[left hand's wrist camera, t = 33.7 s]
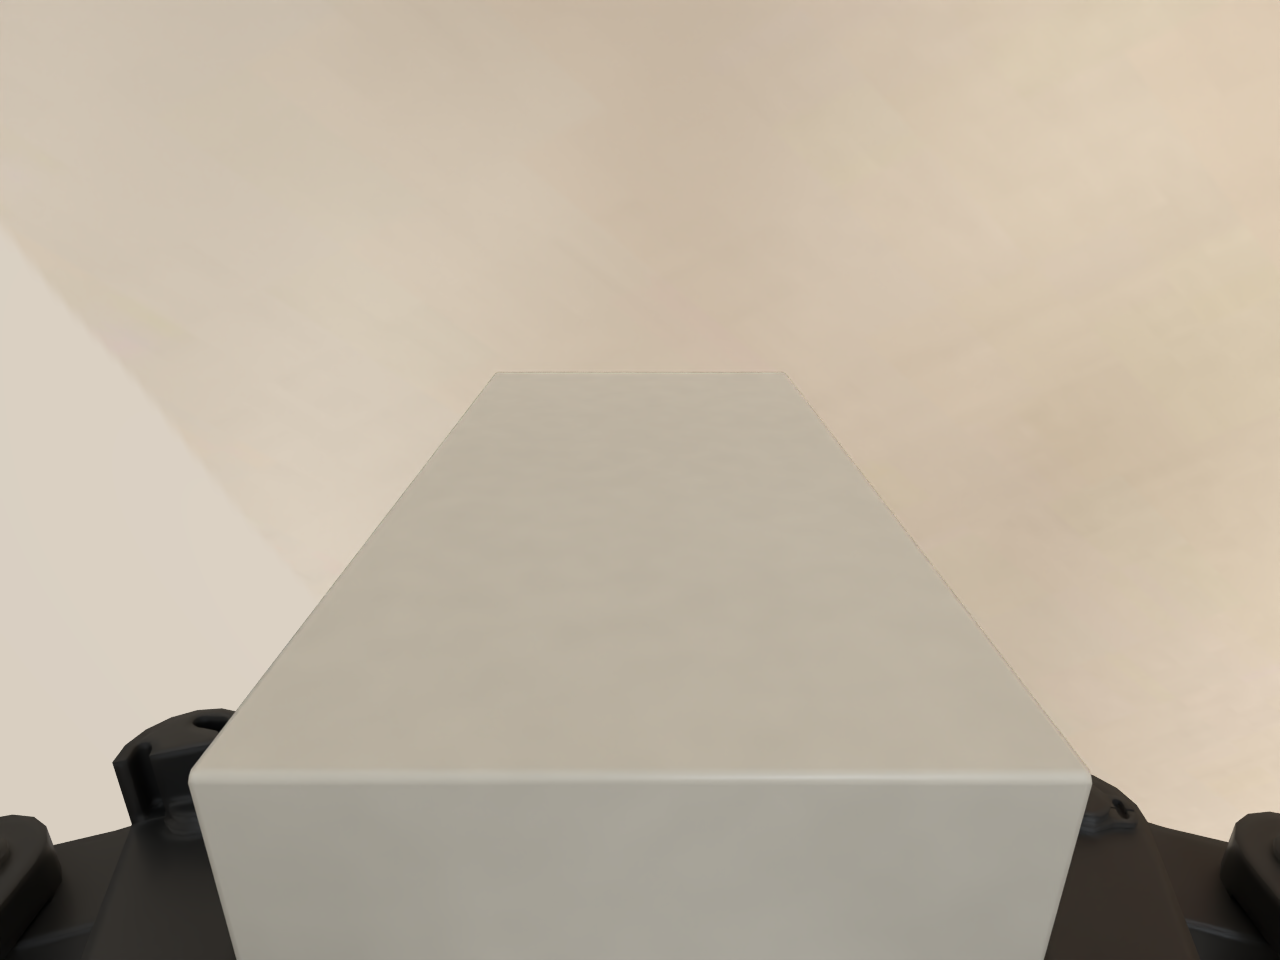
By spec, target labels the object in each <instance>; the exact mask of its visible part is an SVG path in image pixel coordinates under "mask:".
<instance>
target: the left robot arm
mask: <svg viewBox="0 0 1280 960" xmlns="http://www.w3.org/2000/svg"><path fill="white" fill-rule="evenodd" d="M235 712H236V711H231V710H226V709H207V710H197V711H193V712H189V713H186V714H182V715H179V716H175V717H171V718H169V719H167V720H165V721H163V722H161V723H159V724H157V725H155V726H153V727H150V728H148V729H146V730H145V731H144V732H142V733H141V734H140V735H138V736H137V737H136V738H134V739H133V740H132V741H130V742H129V743H128V744H126V745H125V746H124V748H123V749H122V750H121V752H120V753H119V754H118V756H117V757H116V758H115V760H114V761H113V766H114V769H115V772H116V776H117V779H118V782H119V785H120V788H121V791H122V794H123V798H124V801H125V804H126V807H127V810H128V813H129V816H130V820H131V823H132V825H131V826H129V827H126V828H123V829H120V830H116V831H112V832H108V833H104V834H99V835H95V836H91V837H86V838H82V839H78V840H74V841H70V842H65V843H61V844H57V845H53V843H52V841H51V838H50V835H49V833H48V830H47V827H46V826H45V825H44V824H43V823H41V822H40V821H39V820H37V819H36V818H35V817H29V816H20V815H8V816H3V817H0V960H237V959H236V956H235V952H234V948H233V945H232V941H231V938H230V934H229V930H228V927H227V923H226V919H225V916H224V912H223V908H222V905H221V901H220V898H219V894H218V890H217V887H216V883H215V879H214V876H213V872H212V868H211V865H210V861H209V858H208V854H207V850H206V847H205V843H204V839H203V836H202V832H201V828H200V825H199V821H198V817H197V814H196V810H195V807H194V803H193V799H192V796H191V792H190V788H189V785H188V780H189V774H190V771H191V769H192V768H193V766H194V765H195V764H196V762H197V761H198V760H199V758H200V757H201V756H202V755H203V753H204V752H205V751H206V749H207V748H208V747H209V745H210V744H211V743H212V741H213V740H214V739H215V738H216V736H217V735H218V734H219V732H220V731H221V730H222V728H223V727H224V726H225V725H226V723H227V722H228V721H229V719H230V718H231V717H232V715H233V714H234V713H235ZM1091 778H1092V786H1091V790H1090V794H1089V797H1088V801H1087V805H1086V808H1085V812H1084V816H1083V819H1082V823H1081V826H1080V830H1079V834H1078V837H1077V841H1076V845H1075V848H1074V852H1073V856H1072V859H1071V863H1070V866H1069V870H1068V874H1067V877H1066V881H1065V885H1064V888H1063V892H1062V895H1061V899H1060V903H1059V906H1058V910H1057V914H1056V917H1055V921H1054V925H1053V928H1052V932H1051V935H1050V939H1049V943H1048V946H1047V950H1046V954H1045V957H1044V960H1280V814H1279V813H1274V812H1262V813H1252V814H1247V815H1246V816H1245V817H1243V818H1242V819H1241V820H1239V821H1238V822H1237V823H1236V824H1235V826H1234V829H1233V832H1232V835H1231V837H1230V840H1229V842H1224V841H1220V840H1216V839H1212V838H1207V837H1203V836H1199V835H1194V834H1190V833H1186V832H1182V831H1177V830H1173V829H1169V828H1165V827H1162V826H1158V825H1155V824H1152V823H1148V822H1147V820H1146V819H1145V817H1144V816H1143V814H1142V813H1141V811H1140V810H1139V808H1138V807H1137V805H1136V804H1135V803H1134V802H1132V801H1131V800H1130V799H1129V798H1128V797H1127V796H1125V795H1124V794H1123V793H1122V792H1121V791H1120V790H1118V789H1117V788H1116V787H1114V786H1112V785H1110V784H1108V783H1106V782H1104V781H1103V780H1101V779H1099V778H1097V777H1095V776H1093V775H1091Z"/></svg>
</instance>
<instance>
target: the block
mask: <svg viewBox="0 0 1280 960" xmlns="http://www.w3.org/2000/svg"><path fill="white" fill-rule="evenodd" d="M188 785H189V788H190V792H191V796H192V799H193V803H194V807H195V810H196V814H197V817H198V821H199V825H200V828H201V832H202V836H203V839H204V843H205V847H206V850H207V854H208V858H209V861H210V865H211V868H212V872H213V876H214V879H215V883H216V887H217V890H218V894H219V898H220V901H221V905H222V908H223V912H224V916H225V919H226V923H227V927H228V930H229V934H230V938H231V941H232V945H233V948H234V952H235V956H236V959H237V960H1044V957H1045V954H1046V950H1047V946H1048V943H1049V939H1050V935H1051V932H1052V928H1053V925H1054V921H1055V917H1056V914H1057V910H1058V906H1059V903H1060V899H1061V895H1062V892H1063V888H1064V885H1065V881H1066V877H1067V874H1068V870H1069V866H1070V863H1071V859H1072V856H1073V852H1074V848H1075V845H1076V841H1077V837H1078V834H1079V830H1080V826H1081V823H1082V819H1083V816H1084V812H1085V808H1086V805H1087V801H1088V797H1089V794H1090V790H1091V786H1092V778H1091V774H1090V771H1089V769H1088V768H1087V766H1086V765H1085V764H1084V762H1083V761H1082V760H1081V758H1080V757H1079V756H1078V755H1077V753H1076V752H1075V751H1074V749H1073V748H1072V747H1071V745H1070V744H1069V743H1068V742H1067V740H1066V739H1065V738H1064V736H1063V735H1062V734H1061V732H1060V731H1059V730H1058V728H1057V727H1056V726H1055V725H1054V723H1053V722H1052V721H1051V719H1050V718H1049V717H1048V715H1047V714H1046V713H1045V712H1044V710H1043V709H1042V708H1041V706H1040V705H1039V704H1038V702H1037V701H1036V700H1035V698H1034V697H1033V696H1032V695H1031V693H1030V692H1029V691H1028V689H1027V688H1026V687H1025V685H1024V684H1023V683H1022V682H1021V680H1020V679H1019V678H1018V676H1017V675H1016V674H1015V672H1014V671H1013V670H1012V668H1011V667H1010V666H1009V665H1008V663H1007V662H1006V661H1005V659H1004V658H1003V657H1002V655H1001V654H1000V653H999V651H998V650H997V649H996V648H995V646H994V645H993V644H992V642H991V641H990V640H989V638H988V637H987V636H986V635H985V633H984V632H983V631H982V629H981V628H980V627H979V625H978V624H977V623H976V621H975V620H974V619H973V618H972V616H971V615H970V614H969V612H968V611H967V610H966V608H965V607H964V606H963V605H962V603H961V602H960V601H959V599H958V598H957V597H956V595H955V594H954V593H953V591H952V590H951V589H950V588H949V586H948V585H947V584H946V582H945V581H944V580H943V578H942V577H941V576H940V575H939V573H938V572H937V571H936V569H935V568H934V567H933V565H932V564H931V563H930V561H929V560H928V559H927V558H926V556H925V555H924V554H923V552H922V551H921V550H920V548H919V547H918V546H917V544H916V543H915V542H914V541H913V539H912V538H911V537H910V535H909V534H908V533H907V531H906V530H905V529H904V528H903V526H902V525H901V524H900V522H899V521H898V520H897V518H896V517H895V516H894V514H893V513H892V512H891V511H890V509H889V508H888V507H887V505H886V504H885V503H884V501H883V500H882V499H881V498H880V496H879V495H878V494H877V492H876V491H875V490H874V488H873V487H872V486H871V484H870V483H869V482H868V481H867V479H866V478H865V477H864V475H863V474H862V473H861V471H860V470H859V469H858V468H857V466H856V465H855V464H854V462H853V461H852V460H851V458H850V457H849V456H848V454H847V453H846V452H845V451H844V449H843V448H842V447H841V445H840V444H839V443H838V441H837V440H836V439H835V437H834V436H833V435H832V434H831V432H830V431H829V430H828V428H827V427H826V426H825V424H824V423H823V422H822V421H821V419H820V418H819V417H818V415H817V414H816V413H815V411H814V410H813V409H812V407H811V406H810V405H809V404H808V402H807V401H806V400H805V398H804V397H803V396H802V394H801V393H800V392H799V391H798V389H797V388H796V387H795V385H794V384H793V383H792V381H791V380H790V379H789V377H788V376H787V375H786V374H785V373H783V372H497V373H495V375H494V376H493V377H492V379H491V380H490V381H489V382H488V384H487V385H486V386H485V388H484V389H483V390H482V392H481V393H480V394H479V395H478V397H477V398H476V399H475V401H474V402H473V403H472V405H471V406H470V407H469V408H468V410H467V411H466V412H465V414H464V415H463V416H462V418H461V419H460V420H459V421H458V423H457V424H456V425H455V427H454V428H453V429H452V431H451V432H450V433H449V434H448V436H447V437H446V438H445V440H444V441H443V442H442V444H441V445H440V446H439V448H438V449H437V450H436V451H435V453H434V454H433V455H432V457H431V458H430V459H429V461H428V462H427V463H426V464H425V466H424V467H423V468H422V470H421V471H420V472H419V474H418V475H417V476H416V477H415V479H414V480H413V481H412V483H411V484H410V485H409V487H408V488H407V489H406V490H405V492H404V493H403V494H402V496H401V497H400V498H399V500H398V501H397V502H396V503H395V505H394V506H393V507H392V509H391V510H390V511H389V513H388V514H387V515H386V516H385V518H384V519H383V520H382V522H381V523H380V524H379V526H378V527H377V528H376V529H375V531H374V532H373V533H372V535H371V536H370V537H369V539H368V540H367V541H366V542H365V544H364V545H363V546H362V548H361V549H360V550H359V552H358V553H357V554H356V555H355V557H354V558H353V559H352V561H351V562H350V563H349V565H348V566H347V567H346V568H345V570H344V571H343V572H342V574H341V575H340V576H339V578H338V579H337V580H336V581H335V583H334V584H333V585H332V587H331V588H330V589H329V591H328V592H327V593H326V594H325V596H324V597H323V598H322V600H321V601H320V602H319V604H318V605H317V606H316V608H315V609H314V610H313V611H312V613H311V614H310V615H309V617H308V618H307V619H306V621H305V622H304V623H303V624H302V626H301V627H300V628H299V630H298V631H297V632H296V634H295V635H294V636H293V637H292V639H291V640H290V641H289V643H288V644H287V645H286V647H285V648H284V649H283V650H282V652H281V653H280V654H279V656H278V657H277V658H276V660H275V661H274V662H273V663H272V665H271V666H270V667H269V669H268V670H267V671H266V673H265V674H264V675H263V676H262V678H261V679H260V680H259V682H258V683H257V684H256V686H255V687H254V688H253V690H252V691H251V692H250V693H249V695H248V696H247V697H246V699H245V700H244V701H243V702H242V704H241V705H240V706H239V708H238V709H237V710H236V712H235V713H234V714H233V715H232V717H231V718H230V719H229V721H228V722H227V723H226V725H225V726H224V727H223V728H222V730H221V731H220V732H219V734H218V735H217V736H216V738H215V739H214V740H213V741H212V743H211V744H210V745H209V747H208V748H207V749H206V751H205V752H204V753H203V755H202V756H201V757H200V758H199V760H198V761H197V762H196V764H195V765H194V766H193V768H192V769H191V771H190V774H189V780H188Z"/></svg>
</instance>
